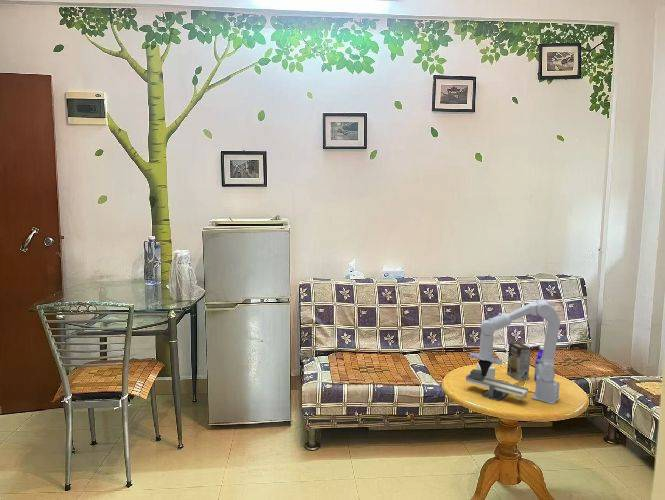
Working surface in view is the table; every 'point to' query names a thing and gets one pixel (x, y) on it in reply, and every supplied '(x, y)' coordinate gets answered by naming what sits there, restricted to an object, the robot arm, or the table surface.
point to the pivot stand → (495, 394)
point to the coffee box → (518, 361)
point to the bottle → (538, 360)
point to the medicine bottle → (490, 371)
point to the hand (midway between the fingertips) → (484, 376)
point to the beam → (501, 386)
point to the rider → (476, 375)
